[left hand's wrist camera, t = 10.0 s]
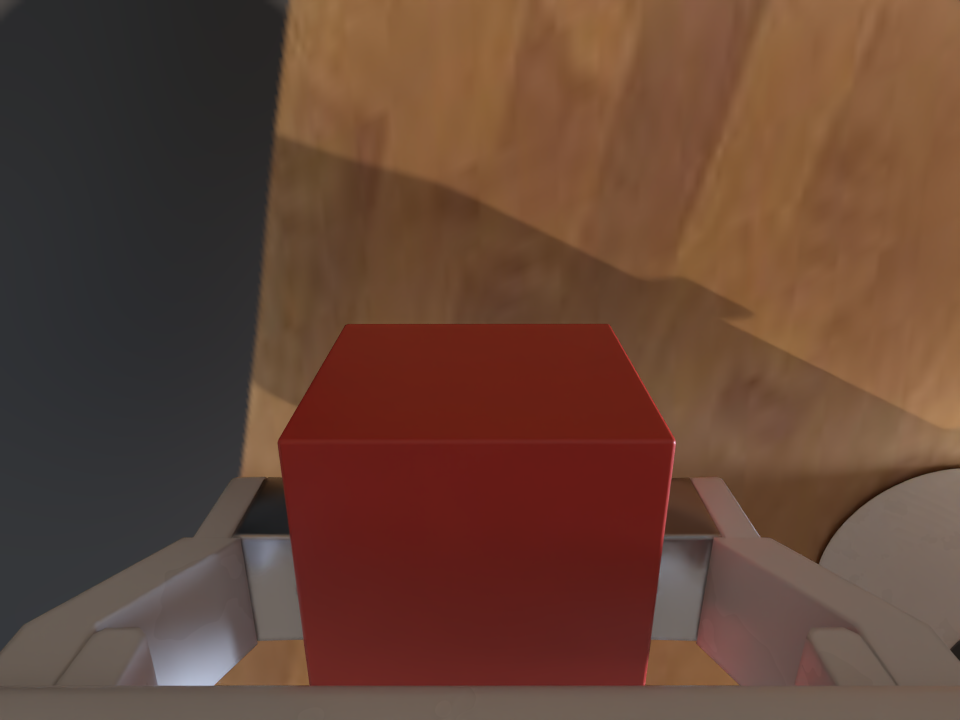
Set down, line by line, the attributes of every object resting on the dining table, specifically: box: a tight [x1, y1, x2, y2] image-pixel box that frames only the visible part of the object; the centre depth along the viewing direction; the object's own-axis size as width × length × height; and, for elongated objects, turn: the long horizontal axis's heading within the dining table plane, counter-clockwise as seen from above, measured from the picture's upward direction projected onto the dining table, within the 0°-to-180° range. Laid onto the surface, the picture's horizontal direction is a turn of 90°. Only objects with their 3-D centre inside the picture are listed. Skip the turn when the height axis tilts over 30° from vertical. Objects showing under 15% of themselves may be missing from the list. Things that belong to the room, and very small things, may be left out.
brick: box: [278, 324, 676, 686], centre depth 10 cm, size 5×5×4 cm
